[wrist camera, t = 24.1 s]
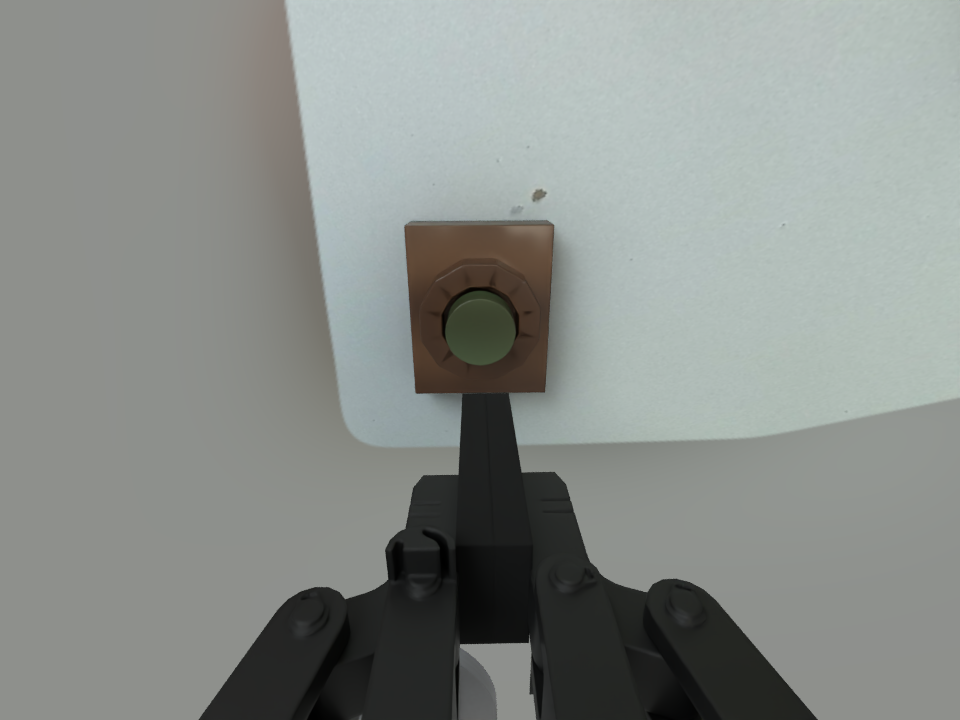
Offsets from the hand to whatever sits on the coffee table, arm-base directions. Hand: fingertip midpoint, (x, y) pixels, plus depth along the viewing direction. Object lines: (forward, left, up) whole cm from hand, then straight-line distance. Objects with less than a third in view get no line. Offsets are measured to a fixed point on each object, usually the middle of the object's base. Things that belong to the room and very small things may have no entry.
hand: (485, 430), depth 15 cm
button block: (0, 0, -14) cm, 14 cm away
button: (0, 0, -11) cm, 11 cm away
